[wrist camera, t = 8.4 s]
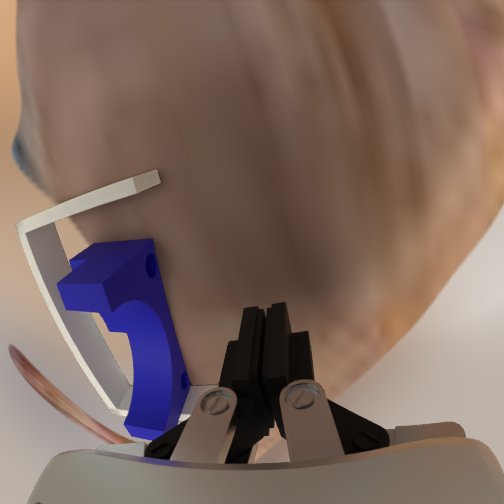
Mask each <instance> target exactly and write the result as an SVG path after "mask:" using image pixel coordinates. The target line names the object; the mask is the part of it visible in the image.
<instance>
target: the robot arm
mask: <svg viewBox="0 0 504 504" xmlns="http://www.w3.org/2000/svg"><path fill="white" fill-rule="evenodd" d="M275 421H276V424H277V427H278V429H279V432H280V435H281V437H283V438H284V439H286V441H287V446H288V451H289V458H290V462H281V463H261V464H253V463H254V459H255V456H256V452H257V448H258V443H257V442H258V441H260V440H261V439H262V438H263V437H264V436H269V428H274V422H275ZM27 504H504V473H503V470H502V468H501V466H500V464H499V462H498V460H497V458H496V456H495V455H494V453H493V452H492V451H491V449H490V448H489V447H488V446H487V445H486V444H484V443H483V442H481V441H479V440H475V439H471V438H466V436H465V432H464V429H463V428H462V427H461V426H460V425H459V424H457V423H455V422H442V423H432V424H423V425H411V426H396V428H395V429H384V428H382V427H381V426H379V425H377V424H375V423H373V422H371V421H369V420H367V419H365V418H363V417H361V416H359V415H357V414H355V413H353V412H351V411H349V410H347V409H346V408H344V407H342V406H340V405H338V404H336V403H334V402H332V401H331V400H329V399H327V398H326V395H325V392H324V389H323V387H322V386H321V385H320V384H319V383H318V382H316V381H315V380H314V370H313V360H312V352H311V345H310V339H309V332H308V331H303V332H297V333H292V331H291V326H290V321H289V316H288V311H287V306H286V303H285V302H282V303H275V304H272V306H271V308H267V315H266V316H265V312H264V309H259V307H258V306H255V307H248V308H244V311H243V316H242V321H241V327H240V332H239V337H238V340H235V341H229V342H228V345H227V350H226V354H225V359H224V363H223V368H222V372H221V376H220V381H219V385H218V387H216V388H213V389H210V390H208V391H206V392H204V393H203V394H202V395H201V396H200V397H199V399H198V400H197V402H196V404H195V406H194V409H193V411H192V413H191V415H190V417H189V418H188V419H186V420H185V421H183V422H182V423H180V424H178V425H177V426H175V427H174V428H172V429H171V430H169V431H167V432H166V433H164V434H163V435H161V436H159V437H158V438H156V439H154V440H153V441H152V442H151V443H149V444H146V443H145V442H141V443H128V444H109V445H102V446H100V447H98V448H97V449H96V450H92V449H85V450H84V449H82V450H72V451H66V452H63V453H60V454H58V455H56V456H55V457H53V458H52V459H51V461H50V462H49V463H48V464H47V466H46V467H45V469H44V470H43V472H42V474H41V475H40V477H39V479H38V481H37V483H36V485H35V487H34V489H33V491H32V493H31V496H30V498H29V500H28V503H27Z"/></svg>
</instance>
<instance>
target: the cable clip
mask: <svg viewBox="0 0 504 504" xmlns="http://www.w3.org/2000/svg"><path fill="white" fill-rule="evenodd" d="M69 262H70V265H71V268H72V272H70V273H69V274H68V275H67V276H65V277H64V278H63V279H61V280H60V281H59V282H58V283H56V284H57V287H58V290H59V293H60V296H61V298H62V301H63V304H64V306H65V309H66V310H67V311H81V312H97V313H99V314H100V315H101V317H102V318H103V320H104V322H105V323H106V325H107V328H108V330H109V331H111V332H123V333H127V335H128V338H129V342H130V346H131V351H132V357H133V368H134V383H133V392H132V399H131V404H130V408H129V411H128V414H127V417H126V419H125V422H124V426H125V427H126V429H127V430H128V432H129V433H130V435H131V436H133V437H138V438H142V439H147V440H152V441H153V440H154V439H156V438H158V437H159V436H161V435H163V434H164V433H166V432H167V431H169V430H171V429H172V428H174V427H175V426H177V424H178V421H179V418H180V415H181V412H182V410H183V407H184V404H185V401H186V398H187V395H188V393H189V390H190V387H191V383H190V380H189V377H188V373H187V370H186V367H185V364H184V361H183V357H182V354H181V351H180V347H179V344H178V340H177V337H176V333H175V330H174V326H173V323H172V319H171V315H170V311H169V308H168V304H167V300H166V296H165V292H164V288H163V284H162V279H161V275H160V271H159V266H158V262H157V257H156V253H155V248H154V243H153V239H139V240H127V241H115V242H104V243H94V244H92V245H91V246H89V247H88V248H86V249H85V250H83V251H82V252H81V253H79V254H78V255H76V256H75V257H73V258H72V259H70V260H69Z"/></svg>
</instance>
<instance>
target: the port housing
mask: <svg viewBox="0 0 504 504" xmlns="http://www.w3.org/2000/svg"><path fill="white" fill-rule="evenodd" d="M159 183H161V182H160V178H159V174H158V171H157V169H156V170H152V171H149V172H146V173H143V174H140V175H137V176H134V177H131V178H128V179H125V180H122V181H119V182H116V183H113V184H110V185H108V186H105V187H102V188H99V189H97V190H94V191H91V192H89V193H86V194H83V195H81V196H78V197H76V198H73V199H71V200H68V201H66V202H63V203H61V204H58V205H56V206H54V207H51V208H49V209H47V210H44V211H42V212H40V213H38V214H35V215H33V216H31V217H29V218H27V219H24V220H22V221H20V222H18V223H16V224H15V226H16V229H17V232H18V235H19V238H20V240H21V244H22V247H23V249H24V252H25V254H26V257H27V260H28V262H29V265H30V267H31V270H32V272H33V275H34V277H35V279H36V282H37V284H38V286H39V288H40V291H41V293H42V295H43V297H44V299H45V302H46V303H47V306H48V308H49V310H50V312H51V314H52V316H53V318H54V320H55V322H56V324H57V326H58V327H59V329H60V331H61V333H62V335H63V337H64V338H65V340H66V342H67V344H68V345H69V347H70V349H71V351H72V352H73V354H74V356H75V357H76V359H77V361H78V362H79V364H80V366H81V367H82V369H83V370H84V372H85V374H86V375H87V377H88V378H89V380H90V381H91V383H92V384H93V386H94V387H95V389H96V390H97V391H98V393H99V394H100V396H101V397H102V399H103V400H104V402H105V403H106V404H107V406H108V407H109V408H110V410H111V411H112V412H113V413H114V415H121V416H127V414H128V411H129V408H130V404H131V399H132V392H133V385H130V384H129V382H128V381H127V379H126V378H125V376H124V374H123V372H122V371H121V369H120V367H119V366H118V364H117V362H116V360H115V359H114V357H113V355H112V353H111V352H110V350H109V348H108V346H107V344H106V342H105V341H104V339H103V337H102V335H101V333H100V331H99V329H98V327H97V325H96V323H95V321H94V319H93V317H92V315H91V313H90V312H81V311H67V310H66V309H65V306H64V304H63V301H62V298H61V296H60V293H59V290H58V287H57V284H56V283H58V282H59V281H60V280H61V279H63V278H64V277H65V276H67V275H68V274H69V273H70V272H72V270H71V267H70V265H69V262H68V260H67V257H66V255H65V252H64V250H63V247H62V244H61V241H60V238H59V235H58V233H57V230H56V227H55V224H54V221H57V220H60V219H62V218H65V217H68V216H71V215H73V214H76V213H79V212H82V211H85V210H87V209H90V208H93V207H96V206H99V205H102V204H105V203H108V202H111V201H114V200H118V199H121V198H124V197H127V196H130V195H134V194H137V193H139V192H141V191H143V190H146V189H148V188H150V187H152V186H155V185H157V184H159ZM216 387H218V385H206V386H191V387H190V390H189V393H188V395H187V398H186V401H185V404H184V407H183V410H182V412H181V415H180V418H179V420H180V421H185V420H186V419H188V418H189V417H190V415H191V413H192V411H193V409H194V406H195V404H196V402H197V400H198V399H199V397H200V396H201V395H202V394H203V393H204V392H206V391H208V390H210V389H213V388H216Z"/></svg>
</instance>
